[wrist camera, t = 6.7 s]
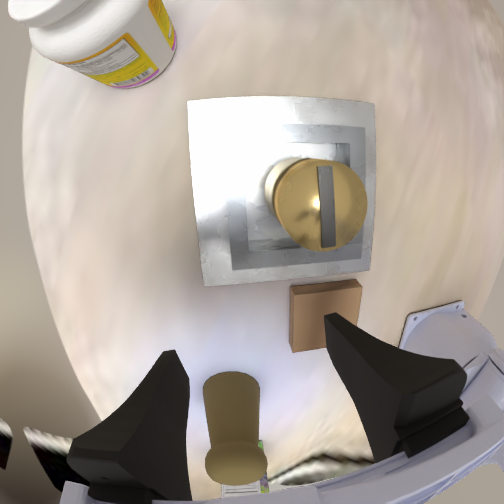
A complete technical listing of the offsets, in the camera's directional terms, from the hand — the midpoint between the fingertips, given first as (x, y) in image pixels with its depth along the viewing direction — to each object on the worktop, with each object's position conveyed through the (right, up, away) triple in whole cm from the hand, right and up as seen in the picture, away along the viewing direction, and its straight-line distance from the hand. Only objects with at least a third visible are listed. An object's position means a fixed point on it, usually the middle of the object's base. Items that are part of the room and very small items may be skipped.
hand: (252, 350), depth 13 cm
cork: (-2, -10, +15) cm, 18 cm away
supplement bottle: (-9, +20, +3) cm, 22 cm away
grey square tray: (+3, +9, +8) cm, 12 cm away
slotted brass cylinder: (+3, +9, +7) cm, 12 cm away
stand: (+6, -1, +12) cm, 14 cm away
